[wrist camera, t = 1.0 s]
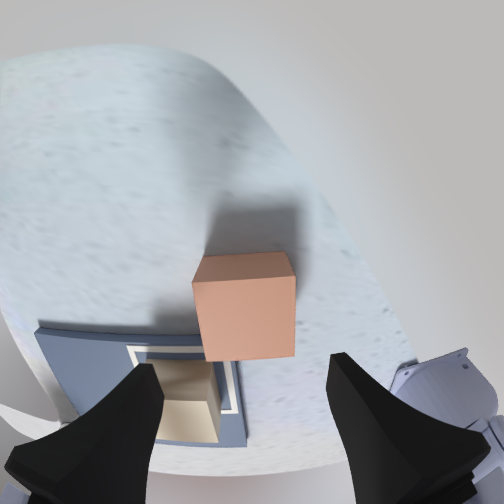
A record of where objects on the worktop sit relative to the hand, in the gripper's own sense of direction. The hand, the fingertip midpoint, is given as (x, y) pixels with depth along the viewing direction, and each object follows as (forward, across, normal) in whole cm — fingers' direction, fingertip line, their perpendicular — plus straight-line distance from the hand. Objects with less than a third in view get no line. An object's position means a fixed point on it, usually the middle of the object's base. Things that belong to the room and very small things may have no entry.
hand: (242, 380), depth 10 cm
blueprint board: (+8, +10, +10) cm, 16 cm away
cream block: (+7, +5, +7) cm, 11 cm away
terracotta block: (+8, 0, 0) cm, 8 cm away
